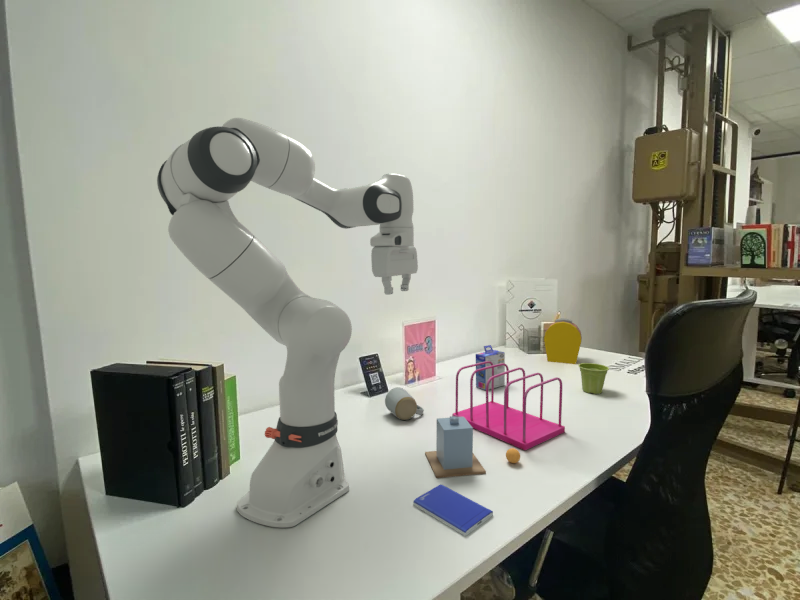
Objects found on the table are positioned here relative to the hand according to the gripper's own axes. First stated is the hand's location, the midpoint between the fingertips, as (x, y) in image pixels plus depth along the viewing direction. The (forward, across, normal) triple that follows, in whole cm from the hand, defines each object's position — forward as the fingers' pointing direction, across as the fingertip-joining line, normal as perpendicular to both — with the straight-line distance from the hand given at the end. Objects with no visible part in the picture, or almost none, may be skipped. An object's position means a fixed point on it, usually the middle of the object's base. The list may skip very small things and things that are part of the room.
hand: (397, 292), depth 111 cm
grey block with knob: (+37, +12, +20) cm, 43 cm away
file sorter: (+38, -14, +26) cm, 48 cm away
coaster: (+37, +12, +20) cm, 44 cm away
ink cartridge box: (+37, -46, +14) cm, 61 cm away
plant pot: (+37, -55, +47) cm, 81 cm away
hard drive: (+38, +29, +25) cm, 54 cm away
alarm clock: (+38, -94, +34) cm, 107 cm away
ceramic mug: (+37, -9, -2) cm, 39 cm away
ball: (+36, +6, +32) cm, 48 cm away
